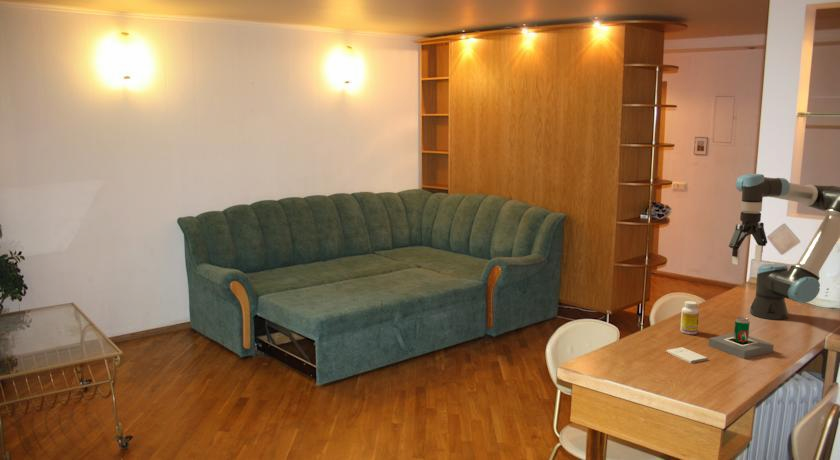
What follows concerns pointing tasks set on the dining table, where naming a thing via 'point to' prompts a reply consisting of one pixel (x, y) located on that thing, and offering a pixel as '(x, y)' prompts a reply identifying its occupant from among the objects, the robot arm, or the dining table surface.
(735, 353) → the socket board
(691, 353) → the external hard drive
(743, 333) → the soda can
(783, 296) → the robot arm
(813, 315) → the dining table surface
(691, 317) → the supplement bottle
